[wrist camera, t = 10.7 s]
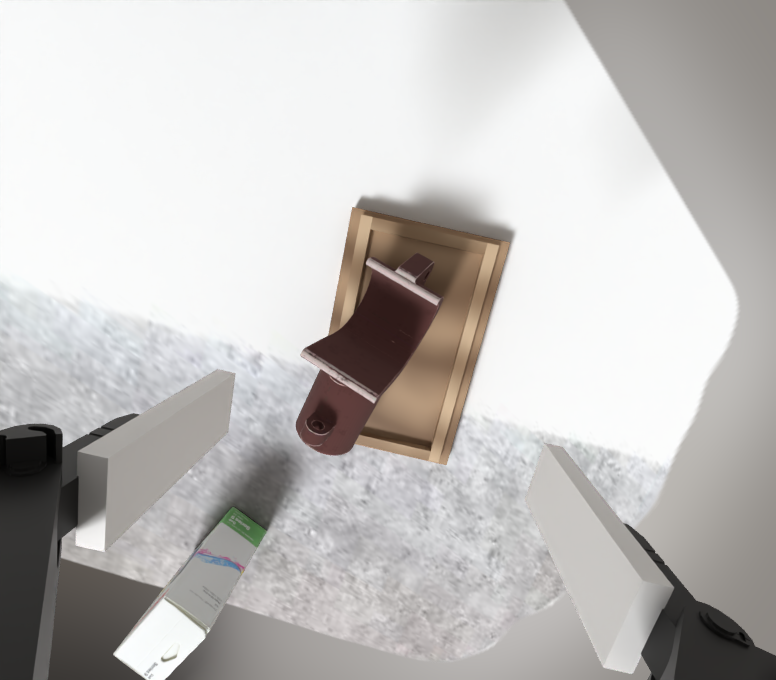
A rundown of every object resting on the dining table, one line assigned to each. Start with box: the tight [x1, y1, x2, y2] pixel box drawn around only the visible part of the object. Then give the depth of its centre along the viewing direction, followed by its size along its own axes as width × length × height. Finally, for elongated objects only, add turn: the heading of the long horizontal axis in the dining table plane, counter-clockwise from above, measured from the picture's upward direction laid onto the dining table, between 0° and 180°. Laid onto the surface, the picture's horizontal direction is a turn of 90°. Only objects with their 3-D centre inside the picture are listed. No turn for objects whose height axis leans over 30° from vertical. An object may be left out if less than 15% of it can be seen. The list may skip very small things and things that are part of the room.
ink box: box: [114, 507, 267, 680], centre depth 36 cm, size 9×5×12 cm, turn 140°
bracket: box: [296, 253, 444, 455], centre depth 30 cm, size 6×17×10 cm, turn 151°
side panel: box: [328, 207, 510, 465], centre depth 35 cm, size 22×14×2 cm, turn 167°
